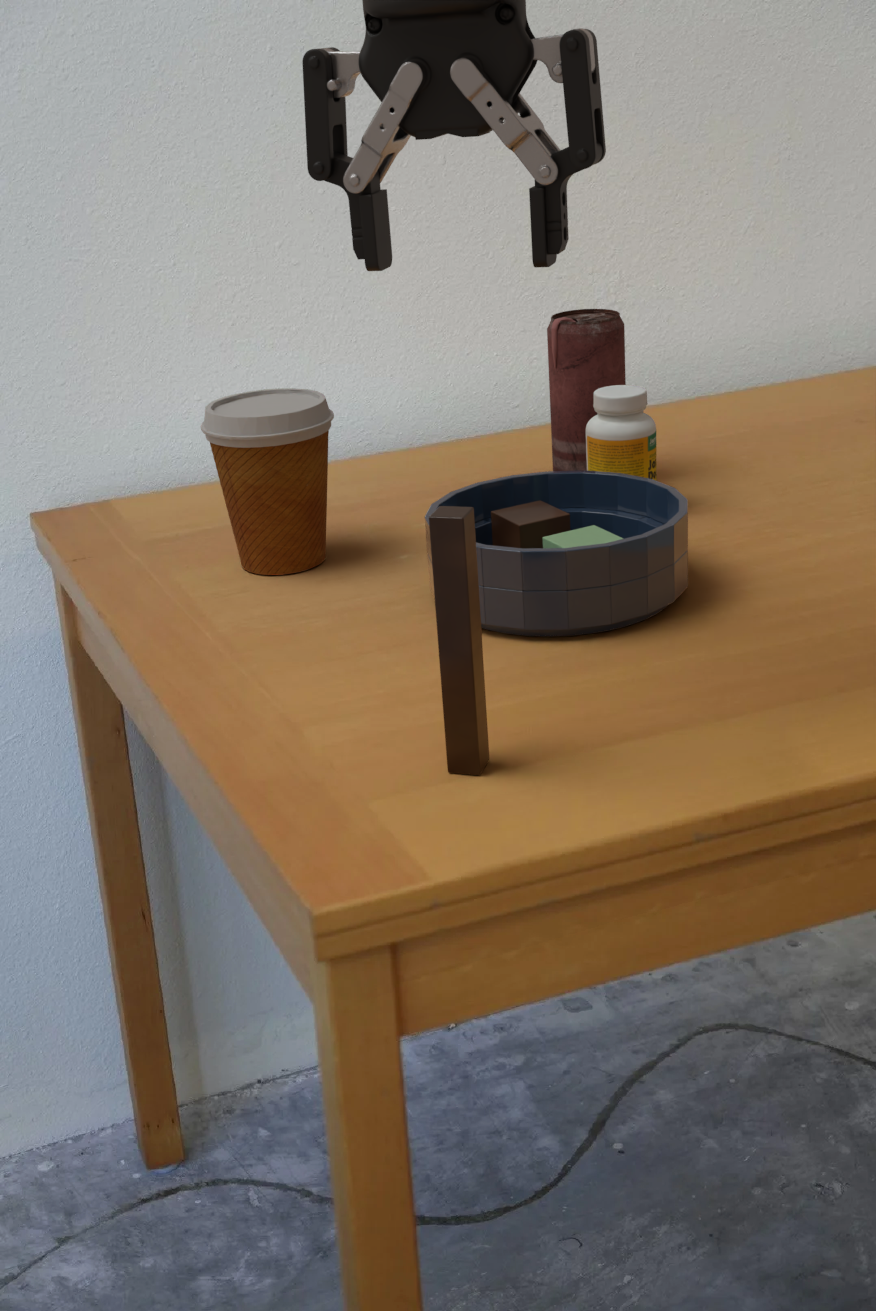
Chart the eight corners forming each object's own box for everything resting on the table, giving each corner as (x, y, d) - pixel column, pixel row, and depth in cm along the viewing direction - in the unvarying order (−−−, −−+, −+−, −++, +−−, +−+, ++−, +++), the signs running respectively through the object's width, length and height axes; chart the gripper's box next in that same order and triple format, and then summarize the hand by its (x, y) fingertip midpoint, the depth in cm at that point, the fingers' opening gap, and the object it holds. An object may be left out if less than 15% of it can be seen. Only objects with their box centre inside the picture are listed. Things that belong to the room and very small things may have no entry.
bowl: (741, 601, 96) (742, 513, 94) (510, 664, 89) (505, 570, 87) (598, 534, 110) (596, 456, 108) (390, 584, 104) (383, 502, 101)
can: (536, 487, 123) (528, 317, 117) (588, 469, 126) (583, 303, 121) (590, 499, 118) (584, 324, 113) (642, 480, 122) (639, 310, 117)
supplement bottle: (585, 503, 118) (581, 384, 114) (653, 499, 117) (651, 379, 114) (590, 525, 113) (587, 401, 109) (661, 520, 112) (659, 396, 109)
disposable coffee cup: (326, 532, 115) (311, 380, 111) (363, 568, 107) (348, 405, 102) (207, 554, 113) (186, 399, 108) (235, 592, 104) (214, 426, 100)
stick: (490, 760, 78) (474, 506, 72) (480, 776, 76) (463, 517, 71) (457, 757, 78) (439, 505, 73) (447, 773, 77) (427, 516, 71)
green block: (629, 598, 96) (627, 540, 94) (576, 612, 94) (574, 553, 93) (595, 581, 99) (594, 524, 98) (544, 594, 98) (541, 536, 96)
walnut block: (572, 569, 102) (570, 513, 100) (521, 581, 100) (519, 525, 98) (542, 553, 105) (540, 499, 103) (493, 565, 103) (490, 511, 102)
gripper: (258, -89, 65) (299, 284, 72) (574, -123, 61) (587, 276, 67) (321, -82, 72) (352, 259, 78) (610, -113, 68) (618, 251, 74)
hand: (461, 267), depth 73 cm, fingers open, 8 cm apart
